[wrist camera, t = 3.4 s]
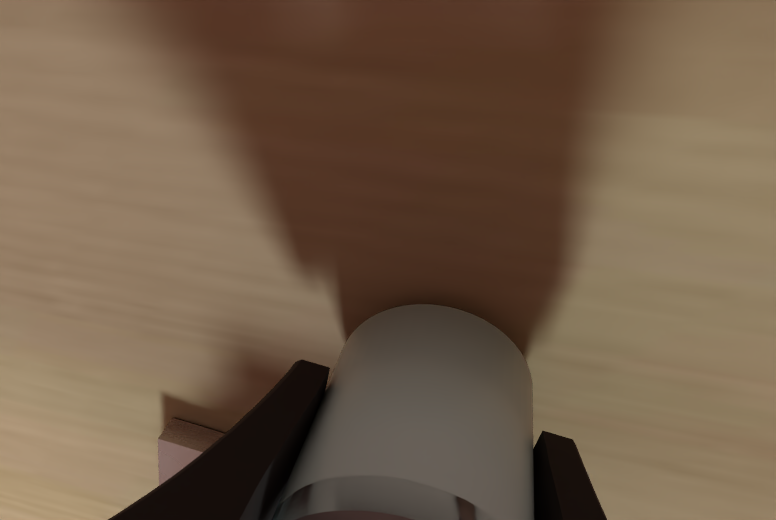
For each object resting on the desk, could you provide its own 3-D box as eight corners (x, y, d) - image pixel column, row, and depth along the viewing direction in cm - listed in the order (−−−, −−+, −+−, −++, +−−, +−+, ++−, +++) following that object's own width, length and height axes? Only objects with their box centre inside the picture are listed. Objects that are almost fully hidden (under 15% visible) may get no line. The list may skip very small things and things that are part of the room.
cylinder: (562, 338, 12) (581, 571, 8) (498, 472, 14) (487, 707, 10) (356, 280, 12) (268, 474, 8) (327, 421, 15) (247, 627, 10)
